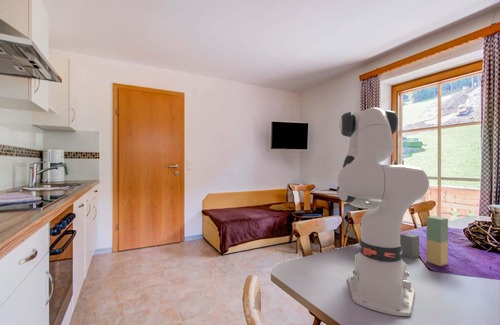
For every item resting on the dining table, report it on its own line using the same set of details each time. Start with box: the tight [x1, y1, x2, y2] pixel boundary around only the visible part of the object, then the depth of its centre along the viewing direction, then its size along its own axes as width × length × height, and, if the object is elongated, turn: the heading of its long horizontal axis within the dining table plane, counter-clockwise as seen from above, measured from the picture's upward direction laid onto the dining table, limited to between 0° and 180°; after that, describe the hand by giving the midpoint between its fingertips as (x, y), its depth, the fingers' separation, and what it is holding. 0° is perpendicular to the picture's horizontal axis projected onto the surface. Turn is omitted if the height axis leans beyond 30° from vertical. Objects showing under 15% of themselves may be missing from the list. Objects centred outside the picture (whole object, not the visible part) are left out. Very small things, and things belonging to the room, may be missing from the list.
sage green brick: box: [426, 215, 449, 243], centre depth 97 cm, size 5×5×9 cm
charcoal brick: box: [400, 232, 420, 260], centre depth 103 cm, size 5×5×9 cm
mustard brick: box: [426, 238, 449, 267], centre depth 96 cm, size 5×5×9 cm
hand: (404, 206), depth 108 cm, fingers open, 8 cm apart
